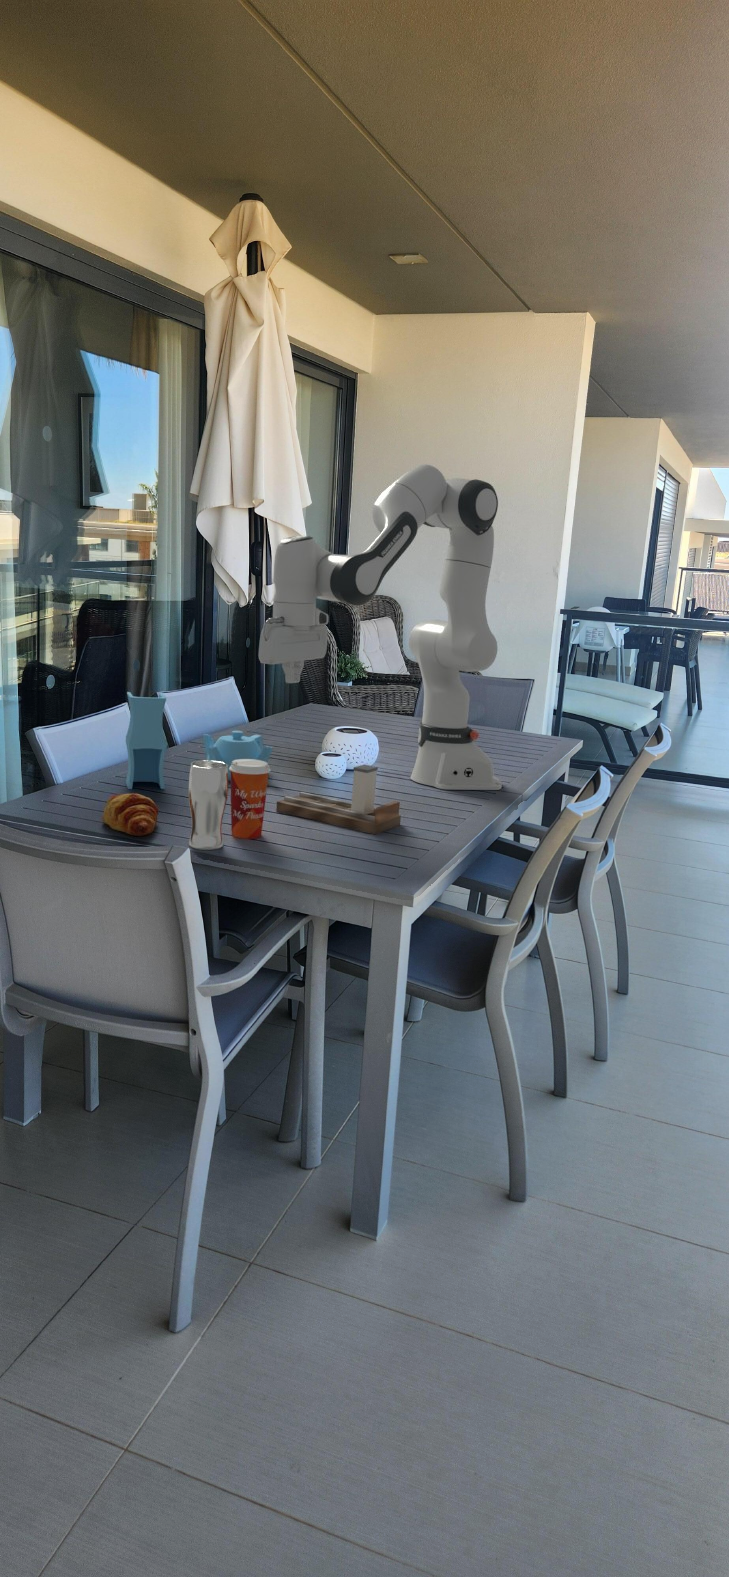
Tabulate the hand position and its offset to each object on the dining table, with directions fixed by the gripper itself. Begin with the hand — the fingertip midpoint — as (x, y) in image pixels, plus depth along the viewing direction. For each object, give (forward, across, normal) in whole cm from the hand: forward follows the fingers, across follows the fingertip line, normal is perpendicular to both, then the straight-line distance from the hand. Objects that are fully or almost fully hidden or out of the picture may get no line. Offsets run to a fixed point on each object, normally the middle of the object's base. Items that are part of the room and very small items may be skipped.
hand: (292, 682), depth 210 cm
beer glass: (+25, -38, -8) cm, 47 cm away
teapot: (+26, +10, +23) cm, 36 cm away
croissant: (+25, -38, +10) cm, 47 cm away
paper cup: (+26, -28, -10) cm, 39 cm away
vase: (+25, -13, +30) cm, 41 cm away
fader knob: (+24, -4, -21) cm, 32 cm away
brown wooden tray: (+26, -4, -15) cm, 30 cm away
